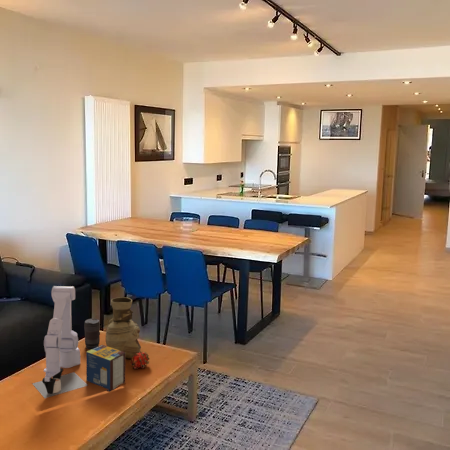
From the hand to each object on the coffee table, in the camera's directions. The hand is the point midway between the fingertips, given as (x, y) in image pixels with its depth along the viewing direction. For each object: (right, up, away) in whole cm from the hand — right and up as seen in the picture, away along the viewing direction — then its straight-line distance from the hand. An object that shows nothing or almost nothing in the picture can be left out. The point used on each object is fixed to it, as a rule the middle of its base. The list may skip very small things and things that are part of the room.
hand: (53, 388), depth 220 cm
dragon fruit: (+34, +1, +28) cm, 44 cm away
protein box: (+21, -1, +11) cm, 24 cm away
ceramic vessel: (+22, +4, +43) cm, 49 cm away
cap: (0, -1, 0) cm, 1 cm away
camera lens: (+4, +6, +50) cm, 50 cm away
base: (+1, -1, +6) cm, 6 cm away
